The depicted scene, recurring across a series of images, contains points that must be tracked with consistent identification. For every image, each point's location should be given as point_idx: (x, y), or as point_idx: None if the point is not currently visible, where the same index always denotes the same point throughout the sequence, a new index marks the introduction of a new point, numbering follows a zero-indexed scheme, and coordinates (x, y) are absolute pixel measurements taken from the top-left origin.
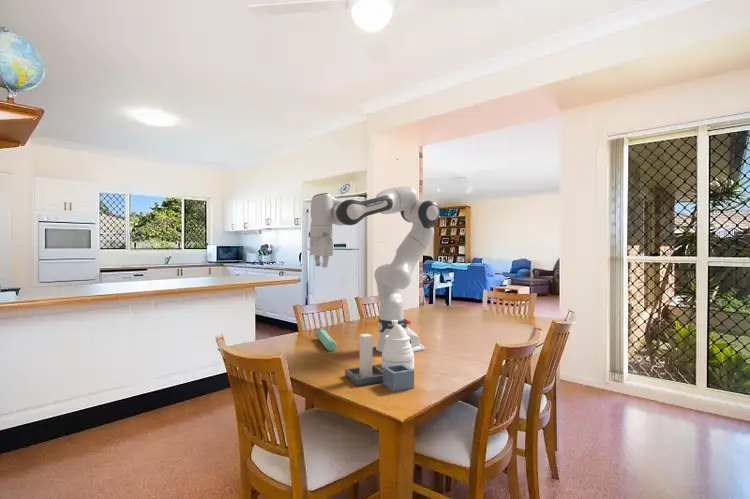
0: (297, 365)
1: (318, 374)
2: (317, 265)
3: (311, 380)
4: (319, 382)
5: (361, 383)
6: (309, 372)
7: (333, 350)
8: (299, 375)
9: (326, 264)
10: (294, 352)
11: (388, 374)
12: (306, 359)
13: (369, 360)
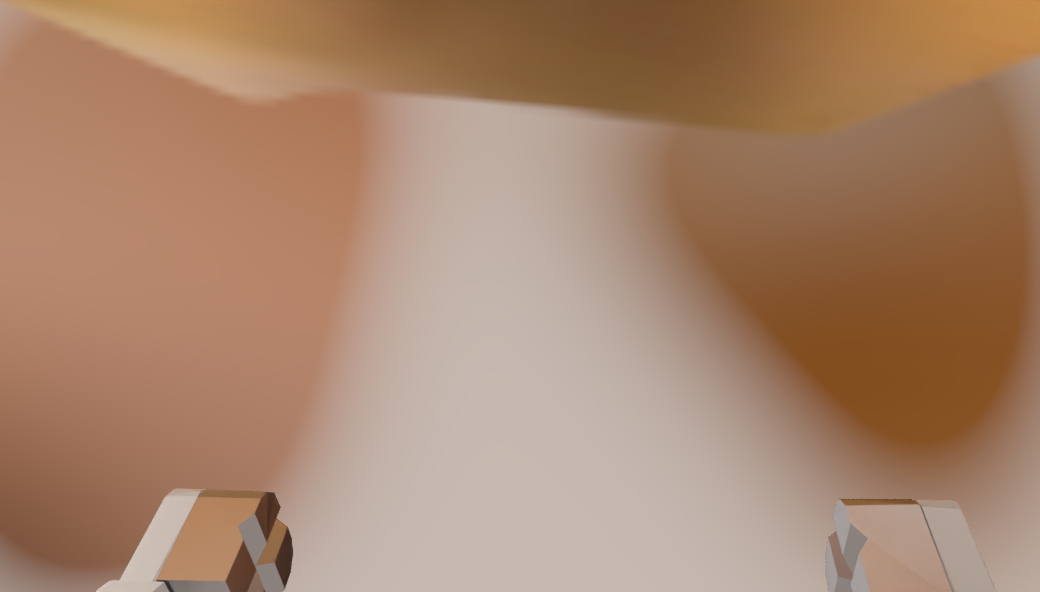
0: (603, 94)
1: (860, 3)
2: (281, 551)
3: (945, 73)
4: (1013, 35)
5: None
6: (787, 51)
7: None
8: (810, 121)
9: (980, 583)
10: (277, 54)
11: None
12: (484, 7)
13: None
